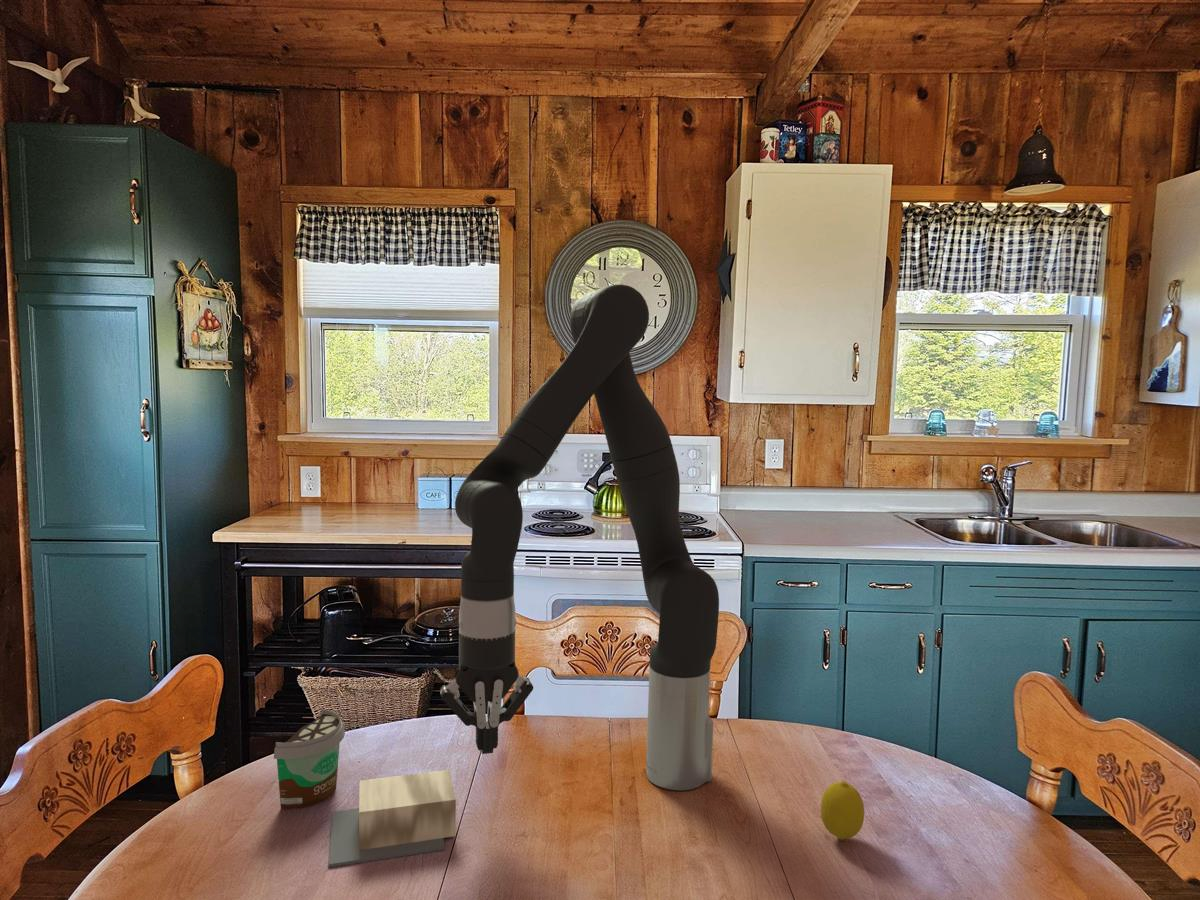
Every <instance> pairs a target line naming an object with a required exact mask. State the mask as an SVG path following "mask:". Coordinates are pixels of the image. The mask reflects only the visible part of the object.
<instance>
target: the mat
mask: <svg viewBox="0 0 1200 900" xmlns="http://www.w3.org/2000/svg"><path fill="white" fill-rule="evenodd" d="M330 829H331V830H330V831H331V832H330V842H329V853H328V868H334V867H340V866H345V865H346V866H348V865H353V864H360V863H367V862H373V861H379V860H387V859H392V858H401V857H405V856H413V855H420V854H427V853H432V852H440V851H445V849H446V847H445V841H444V840H445V838H439V839H433V840H426V841H419V842H412V843H405V844H399V845H392V846H385V847H378V848H371V849H364V850H359V807H358V808H352V809H344V810H343V809H342V810H335V811H332V816H331V827H330Z"/></svg>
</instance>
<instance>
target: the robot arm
mask: <svg viewBox="0 0 1200 900" xmlns="http://www.w3.org/2000/svg"><path fill="white" fill-rule="evenodd" d="M569 316H570V317H569V326H570V327H569V328H570V333H571V337H572V340H573V342H574V346H573V347H572V349H571V350H570V351H569V353H568V355H567V356H566V358H564V360H563V361H562V362H561V363H560V365H559V366H558V367H557V369H555V371H553V373H552V374H551V375H550V376H549V377H548V378H547V379H546V380H545V381H544V382H543V383H542V384H541V385H540V387H538V389H537V390H536V391H534V393H533V394H532V395H531V396H530V397H529V399H528V400H527V401H526V402H525V403H524V404H523V406H522V408H521V409H520V410H519V411H518V412H517V414H516V416H515V417H514V419H513V420H512V421H511V423H510V425H509V426H508V428H507V429H506V430H505V432H504V434H503V435H502V437H501V439H500V440H499V442H498V443H497V445H495V447H494V449H492V450H491V451H490V452H489V453H488V454H487V455H486V456H485V457H484V458H483V459H482V460H481V461H480V462H479V463H478V465H477V466H475V468H473V469H472V471H471V472H470V473H469V474H468V476H466V478H465V479H464V480H463V482H462V484H461V485H460V487H459V489H458V491H457V493H456V496H455V500H454V508H455V509H454V511H455V514H456V515H457V516H456V517H457V518H458V519H459V521H460V522H461V523H462V524H464V526H467V527H469V528H470V529H471V542H470V543H471V544H470V550H469V551H468V552H467V553H465V555H463V557H462V560H461V566H460V602H459V610H458V668H457V669H456V671H455V672H454V673H455V674H454V679H453V680H451V682H449V683H448V684H446V685H445V684H444V685H442V686H440V688H439V692H440V696H441V700H442V701H443V702H444V703H445V705H447V706H448V707H449V708H450V709H451V711H452V712H453V714H455V716H457V718H458V719H459V720H460V721H461V722H462V723H463V725H464V726H467V727H470V726H474V727H475V745H476V748H477V750H478V751H480V752H481V754H482V755H488V754H493V753H494V749H497V748H498V745H499V726H500V724H502V723H503V722H510V721H511V720H512V719H513V717H514V716H515V715H516V713H517V712H518V711H519V709H520V708H521V706H522V705H523V704H524V702H525V701H527V698H528V697H529V696H530V695H531V693H532V691H533V690H534V685H533V684H532V681H531V679H530V678H529V677H523V676H522V675H521V674H520V673H519V670H518V667H517V665H516V626H517V619H516V604H515V594H514V592H515V567H514V565H515V558H516V556H517V553H518V548H519V543H520V538H521V533H522V528H523V518H524V517H523V515H524V513H523V506H522V502H521V498H520V496H519V494H518V493H517V490H518V489H519V487H520V486H521V485H522V484H523V483H524V482H525V481H527V480H529V479H533V478H536V477H537V476H539V474H541V473H542V471H543V470H544V469H545V467H546V466H547V464H548V463H549V461H550V460H551V458H552V457H553V455H554V454H555V451H556V450H557V448H559V445H560V444H561V442H562V440H563V439H564V437H565V436H566V434H567V433H568V431H569V430H570V428H571V426H572V425H573V424H574V422H575V420H576V419H577V418H578V416H579V415H580V413H581V412H582V410H583V409H584V408H585V406H586V405H587V404H588V402H589V401H590V399H591V398H592V397H593V395H594V398H595V402H596V407H597V411H598V414H599V418H600V422H601V426H602V430H603V432H604V435H605V440H606V443H607V446H608V451H609V456H610V459H611V462H612V466H613V469H614V473H615V478H616V481H617V484H618V486H619V490H620V493H621V496H622V500H623V503H624V506H625V510H626V512H627V515H628V518H629V521H630V523H631V527H632V530H633V532H634V537H635V539H636V544H637V548H638V554H639V560H640V567H641V573H642V579H643V585H644V590H645V595H646V597H647V600H648V602H649V604H650V606H651V607H652V609H654V611H656V612H657V614H659V620H658V621H659V623H658V638H657V642H655V643H654V644H652V646H651V647H650V650H649V666H648V667H649V668H648V669H649V670H648V698H647V699H648V702H647V704H648V705H647V728H646V729H647V730H646V731H647V732H646V758H645V774H646V775H645V777H646V778H647V779H648V781H650V782H651V783H652V784H654V785H655V786H658V787H659V788H663V789H665V790H670V791H688V790H694V789H697V788H700V787H701V786H703V784H705V783H707V782H711V781H712V775H713V774H712V773H713V772H712V771H713V769H712V768H713V748H714V747H713V745H714V720H713V719H712V718H711V717H710V716H709V711H710V708H709V706H710V686H711V685H710V682H711V681H710V680H711V662H712V658H713V656H714V654H715V651H716V649H717V639H718V627H719V614H720V610H719V609H720V596H719V590H718V589H719V588H718V586H717V584H716V581H715V579H714V578H713V577H712V575H710V574H709V573H708V572H706V570H704V569H702V568H700V567H699V566H697V565H695V564H694V562H693V560H692V557H691V555H690V552H689V550H688V547H687V544H686V541H685V538H684V534H683V532H682V528H681V522H680V496H681V495H680V489H681V488H680V487H681V483H680V472H679V467H678V462H677V459H676V454H675V451H674V446H673V443H672V439H671V437H670V433H669V432H668V431H669V430H668V429H667V427H666V425H665V423H664V421H663V419H662V418H661V416H660V414H659V412H658V411H657V409H656V408H655V407H654V405H653V403H652V402H651V401H650V399H649V398H648V397H647V395H646V393H645V391H644V390H643V388H642V387H641V384H640V383H639V380H638V377H637V375H636V373H635V369H634V366H633V362H632V358H631V353H630V352H631V351H632V350H633V349H634V348H635V346H637V344H638V343H639V342H640V341H641V339H642V338H643V337H644V335H645V333H646V331H647V329H648V327H649V321H650V312H649V306H648V304H647V300H646V299H645V297H644V296H643V294H641V292H640V291H638V290H637V289H636V288H635V287H633V286H630V285H627V284H626V285H625V284H622V283H621V284H611V285H606V286H603V287H601V288H597V289H595V290H593V291H590V292H587V293H585V294H583V295H582V296H580V297H579V298H578V299H577V300H575V303H574V304H573V305H572V307H571V311H570V314H569ZM512 687H513V690H512V692H511V694H510V695H509V696H508V697H507V699H506V701H505V702H504V703H503V705H502V700H503V699H504V698H505V696H507V694H508V692H509V691H510V689H511V688H512ZM459 688H460V689H461V690H462V692H463V693H464V694H465V696H466V697H467V698H468V700H470V701H471V702H473V709H474V712H472V711H470V710H469V708H468V707H466V705H465V704H464V703H463V702H462V700H461V699H460V695H461V694H460V692H459ZM486 703H487V708H486ZM486 709H487V710H486ZM486 712H487V713H486ZM486 714H487V715H486Z"/></svg>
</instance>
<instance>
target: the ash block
mask: <svg viewBox="0 0 1200 900" xmlns="http://www.w3.org/2000/svg"><path fill="white" fill-rule="evenodd" d="M358 794H359V799H358V800H359V807H358V808H359V850H364V849H371V848H378V847H385V846H392V845H399V844H405V843H412V842H419V841H426V840H433V839H439V838H443V839H445V838H452V837H453V838H454V837H456V831H457V830H456V829H457V828H456V825H457V824H456V823H457V822H456V820H457V819H456V817H457V816H456V815H457V811H456V810H457V806H456V805H457V804H456V803H457V799H456V794H455V790H454V785H453V781H452V776H451V771H450V769H444V770H437V771H428V772H419V773H411V774H410V773H409V774H403V775H395V776H387V777H379V778H370V779H363V780H362V779H360V780H359V793H358Z"/></svg>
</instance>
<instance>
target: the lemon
mask: <svg viewBox="0 0 1200 900" xmlns="http://www.w3.org/2000/svg"><path fill="white" fill-rule="evenodd" d="M821 797H822V798H821V802H820V817H821V821H822V823H823V825H824V827H825V829H826V830H827V831H828V833H830V834H831V835H833V836H834V837H836V838H837V839H838V838H839V839H844V840H845V839H850V838H851V839H852V838H853V837H855V836H857V835H858V834H859V832H860V831H861V829H862V827H863V824H864V820H865V806H864V801H863V799H862V796H861V794H860V792H859V791H858V790H857V789H856V787H854V785H852V784H849V783H847V781H843V780H842V781H838V782H834V783H832V784H830V785H829V786H828V787H826V789H825V791H824V793H823V795H822V796H821ZM839 839H838V840H839Z"/></svg>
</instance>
